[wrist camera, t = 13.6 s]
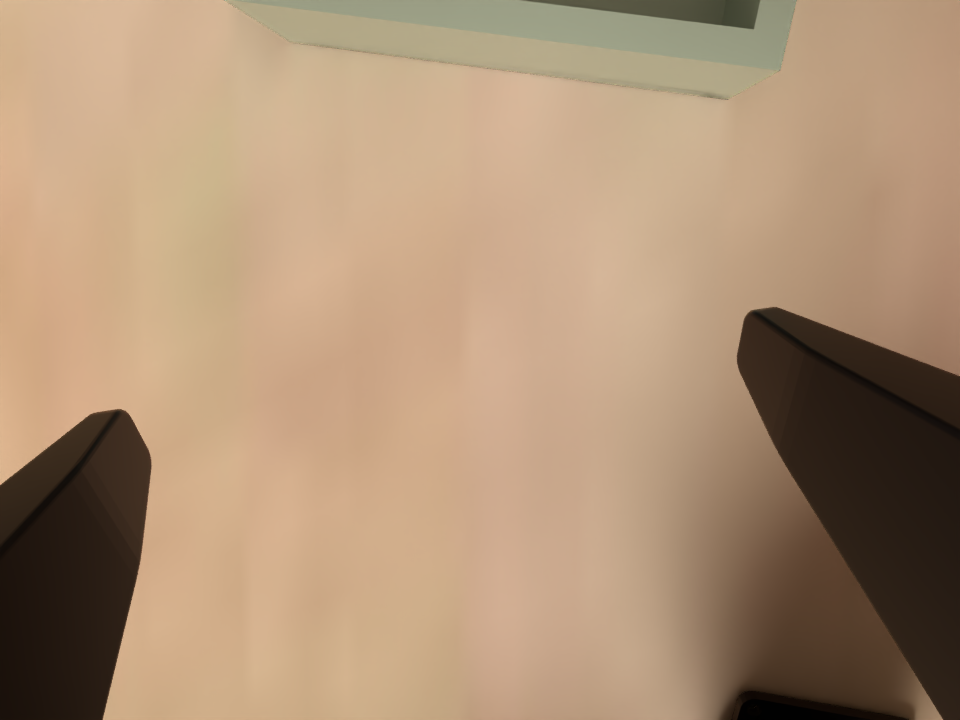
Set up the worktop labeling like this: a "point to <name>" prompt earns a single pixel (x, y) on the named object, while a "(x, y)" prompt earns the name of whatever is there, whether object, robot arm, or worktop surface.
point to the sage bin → (557, 37)
